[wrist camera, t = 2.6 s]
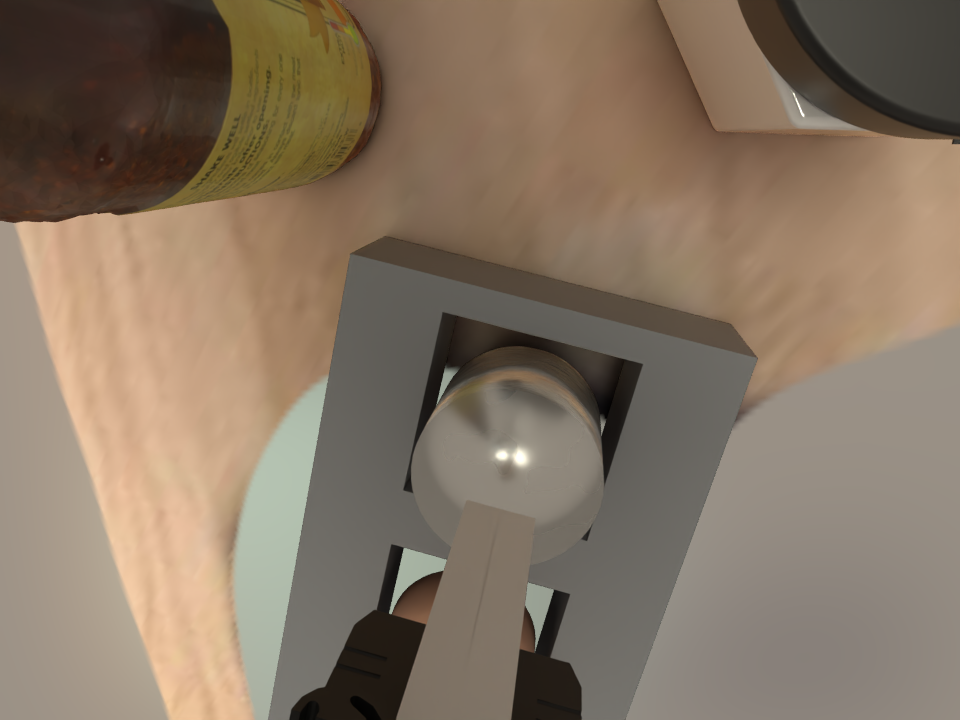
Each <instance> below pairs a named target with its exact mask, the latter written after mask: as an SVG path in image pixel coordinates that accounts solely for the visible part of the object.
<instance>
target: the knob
mask: <svg viewBox="0 0 960 720" xmlns="http://www.w3.org/2000/svg"><path fill="white" fill-rule="evenodd" d="M411 481H412V489H413V493H414V496H415V500H416V503H417V505H418V507H419V510H420V512H421V514H422V515H423V517H424V519H425V520H426V522H427V523H428V525H429V526H430V527H431V528H432V530H433V531H434V532H435V533H436V534H437V535H438V536H439V537H440V538H441V539H442V540H443V541H444V542H446V543H447V544H448V545H449V546H452V543H453V540H454V537H455V534H456V531H457V528H458V525H459V522H460V518H461V515H462V512H463V509H464V506H465V503H466V500H470V501H473V502H477V503H481V504H484V505H488V506H492V507H495V508H499V509H502V510H506V511H510V512H513V513H517V514H521V515H524V516H528V517H532V518H535V525H534V534H533V542H532V550H531V558H530V565H532V564H536V563H540V562H544V561H547V560H549V559H552V558H554V557H556V556H558V555H560V554H562V553H564V552H565V551H567V550H568V549H569V548H571V547H572V546H574V545H575V544H576V543H577V542H578V541H579V540H580V539H581V538H582V537H583V536H584V535H585V534H586V532H587V531H588V530H589V528H590V527H591V525H592V524H593V522H594V520H595V518H596V516H597V514H598V511H599V509H600V506H601V502H602V498H603V490H604V474H603V457H602V440H601V424H600V413H599V408H598V404H597V401H596V399H595V396H594V394H593V392H592V390H591V388H590V386H589V385H588V383H587V382H586V380H585V379H584V378H583V377H582V375H581V374H580V373H579V372H578V371H577V370H576V369H575V368H574V367H572V366H571V365H570V364H569V363H567V362H566V361H564V360H563V359H561V358H560V357H558V356H556V355H553V354H551V353H549V352H546V351H543V350H540V349H536V348H531V347H521V346H513V347H503V348H498V349H494V350H491V351H488V352H485V353H483V354H481V355H479V356H477V357H475V358H474V359H472V360H471V361H469V362H467V363H466V364H465V365H464V366H463V367H462V368H461V369H460V370H459V371H458V372H457V373H456V374H455V375H454V376H453V378H452V380H451V381H450V383H449V384H448V386H447V388H446V389H445V391H444V393H443V395H442V397H441V399H440V401H439V402H438V404H437V406H436V408H435V410H434V411H433V413H432V415H431V417H430V419H429V420H428V422H427V424H426V426H425V428H424V430H423V431H422V433H421V435H420V437H419V440H418V442H417V444H416V447H415V450H414V453H413V458H412V465H411Z"/></svg>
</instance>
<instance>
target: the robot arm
mask: <svg viewBox="0 0 960 720" xmlns="http://www.w3.org/2000/svg"><path fill="white" fill-rule="evenodd" d="M534 525H535V518H532V517H528V516H524V515H521V514H517V513H513V512H510V511H506V510H502V509H499V508H495V507H492V506H488V505H484V504H481V503H477V502H473V501H470V500H466V503H465V506H464V509H463V512H462V515H461V518H460V522H459V525H458V528H457V531H456V534H455V537H454V540H453V543H452V546H451V550H450V553H449V556H448V559H447V562H446V566H445V568H444V571H443V574H442V578H441V581H440V584H439V587H438V590H437V593H436V596H435V599H434V602H433V606H432V609H431V612H430V615H429V618H428V621H427V624H423V623H420V622H416V621H413V620H409V619H406V618H402V617H399V616H395V615H392V614H388V613H385V612H381V611H378V610H373V611H372V612H370V613H369V614H368V615H366V616H365V617H364V618H362V619H361V620H360V621H358V622H357V623H356V624H354V626H353V628H352V631H351V633H350V635H349V637H348V639H347V641H346V643H345V646H344V649H343V650H342V652H341V654H340V656H339V658H338V660H337V662H336V666H335V667H334V669H333V671H332V673H331V675H330V677H329V679H328V681H327V684H326V686H325V687H322V688H317V689H315V690H313V691H311V692H309V693H308V694H306V695H304V696H302V697H301V698H300V699H299V701H298V702H297V703H296V704H295V705H294V707H293V708H292V709H291V713H290V718H289V720H582V716H581V712H582V687H581V685H580V683H579V681H578V679H577V677H576V675H575V672H574V670H573V668H572V666H571V664H570V663H568V662H564V661H561V660H557V659H554V658H550V657H547V656H543V655H540V654H536V653H533V652H529V651H525V650H522V649H520V641H521V633H522V625H523V616H524V608H525V600H526V591H527V583H528V575H529V567H530V558H531V550H532V542H533V534H534Z"/></svg>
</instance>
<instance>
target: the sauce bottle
mask: <svg viewBox="0 0 960 720" xmlns="http://www.w3.org/2000/svg"><path fill="white" fill-rule="evenodd" d="M380 94H381V76H380V70H379V65H378V61H377V59H376V56H375V53H374V50H373V48H372V46H371V44H370V42H369V41H368V39H367V36H366V35H365V34H364V33H363V31H362V29H361V27H360V24H359V22H358V21H357V20H356V18H355V17H354V16H353V15H351V14H350V13H349V12H348V11H347V10H346V9H345V8H344V7H343V6H342V5H341V4H340V3H339V2H338V1H337V0H0V221H6V222H12V223H16V222H22V221H30V222H43V221H46V222H59V221H63V220H66V219H70V218H73V217H76V216H79V215H88V214H93V213H97V214H100V213H112V214H115V215H125V214H133V213H139V212H146V211H152V210H159V209H165V208H171V207H178V206H183V205H189V204H194V203H201V202H208V201H214V200H221V199H228V198H234V197H240V196H246V195H252V194H258V193H265V192H271V191H277V190H283V189H288V188H293V187H298V186H302V185H306V184H309V183H312V182H314V181H316V180H319V179H321V178H323V177H325V176H326V175H328V174H331V173H333V172H334V171H336V170H337V169H338V168H340V167H342V166H343V165H344V164H345V163H347V162H349V161H350V160H351V159H352V158H354V157H356V156H357V155H358V153H359V152H360V151H361V150H362V148H363V147H364V146H365V145H366V144H367V141H368V138H369V136H370V134H371V132H372V130H373V128H374V123H375V120H376V118H377V115H378V111H379V107H380Z"/></svg>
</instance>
